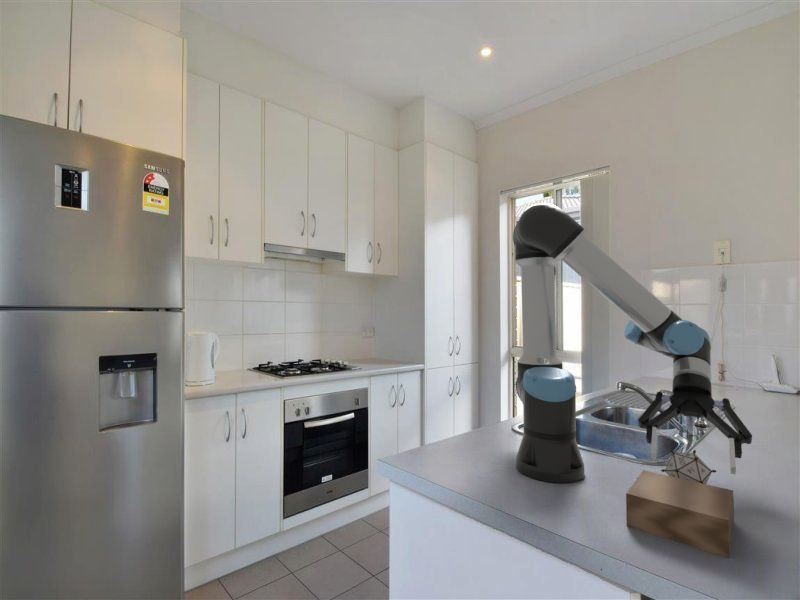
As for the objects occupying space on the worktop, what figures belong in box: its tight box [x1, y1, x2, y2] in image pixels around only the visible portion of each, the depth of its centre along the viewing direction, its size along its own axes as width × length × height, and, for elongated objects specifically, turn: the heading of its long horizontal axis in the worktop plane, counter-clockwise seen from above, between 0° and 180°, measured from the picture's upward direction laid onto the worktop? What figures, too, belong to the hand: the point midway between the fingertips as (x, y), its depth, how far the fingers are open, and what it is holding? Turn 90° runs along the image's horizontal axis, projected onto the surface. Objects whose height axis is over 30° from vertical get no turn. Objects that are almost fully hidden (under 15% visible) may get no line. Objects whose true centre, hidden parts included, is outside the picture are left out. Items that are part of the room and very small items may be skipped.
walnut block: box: [625, 470, 735, 559], centre depth 72 cm, size 14×14×6 cm
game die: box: [660, 449, 718, 484], centre depth 86 cm, size 9×8×10 cm
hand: (691, 463), depth 86 cm, fingers open, 13 cm apart
